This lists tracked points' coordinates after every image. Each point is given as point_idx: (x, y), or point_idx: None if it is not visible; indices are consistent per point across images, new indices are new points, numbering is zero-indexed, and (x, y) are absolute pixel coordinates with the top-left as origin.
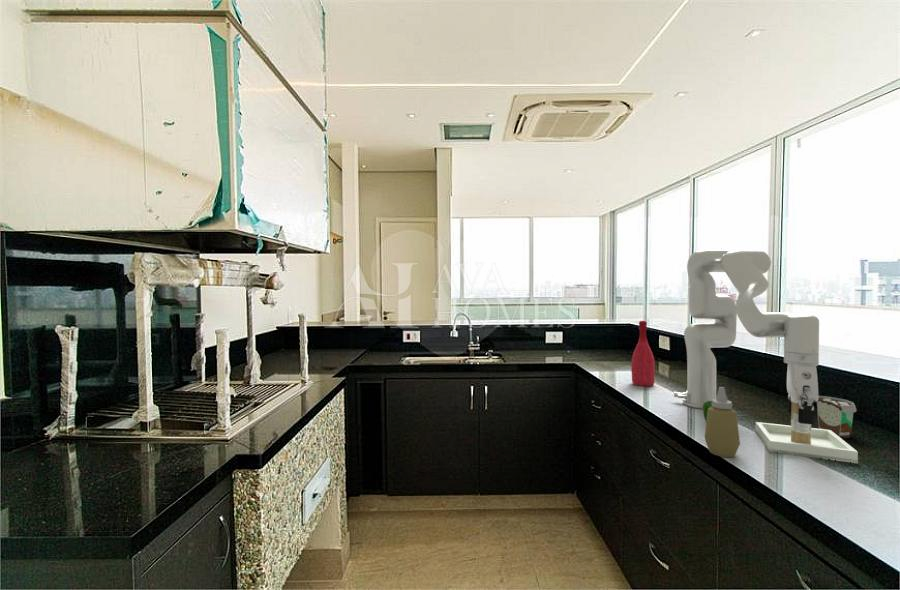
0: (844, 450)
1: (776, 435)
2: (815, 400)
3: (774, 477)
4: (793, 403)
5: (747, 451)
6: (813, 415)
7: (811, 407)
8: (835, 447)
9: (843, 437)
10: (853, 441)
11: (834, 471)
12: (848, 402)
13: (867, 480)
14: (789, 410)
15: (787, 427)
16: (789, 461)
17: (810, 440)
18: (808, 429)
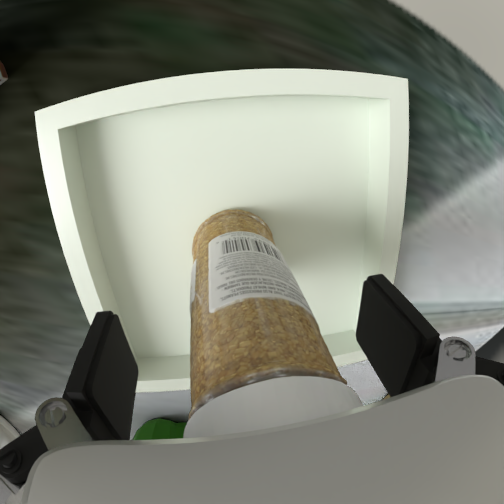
0: (408, 127)
1: (172, 320)
2: (437, 391)
3: (495, 312)
4: None
5: (372, 371)
6: (415, 308)
7: (486, 363)
8: (230, 108)
9: (3, 66)
10: (35, 31)
11: (466, 190)
12: None
13: (493, 129)
14: (135, 379)
15: (102, 297)
16: (424, 288)
17: (247, 218)
18: (282, 258)
